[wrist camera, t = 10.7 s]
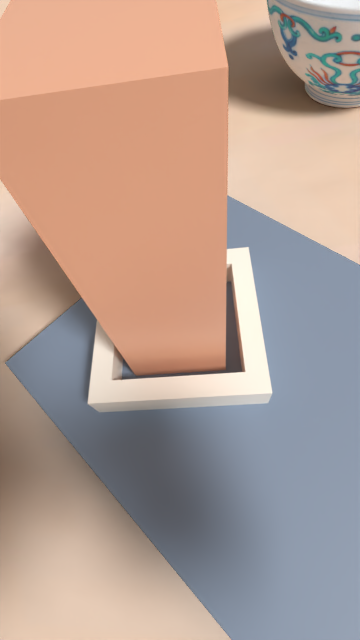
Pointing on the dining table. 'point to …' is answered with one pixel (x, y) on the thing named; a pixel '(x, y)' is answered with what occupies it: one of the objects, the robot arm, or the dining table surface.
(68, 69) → the terracotta pillar
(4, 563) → the dining table surface
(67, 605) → the dining table surface
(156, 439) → the board
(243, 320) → the snap socket
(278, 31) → the chinaware
